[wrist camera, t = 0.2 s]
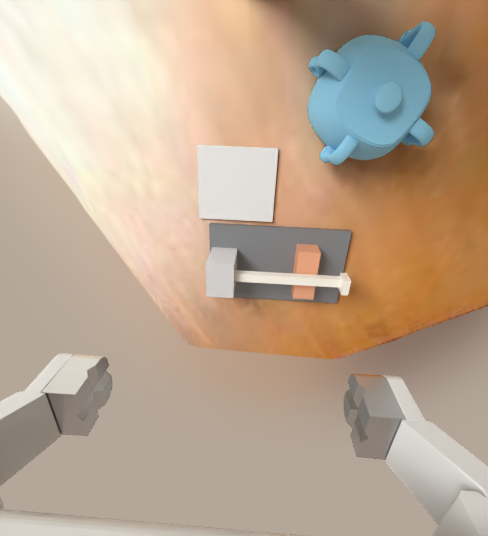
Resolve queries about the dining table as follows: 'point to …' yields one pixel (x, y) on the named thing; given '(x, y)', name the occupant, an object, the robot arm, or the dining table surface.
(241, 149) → the white mat
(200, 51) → the dining table surface
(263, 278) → the bar
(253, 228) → the board
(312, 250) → the salmon orange rectangular block
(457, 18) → the dining table surface
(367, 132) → the decorative pot
